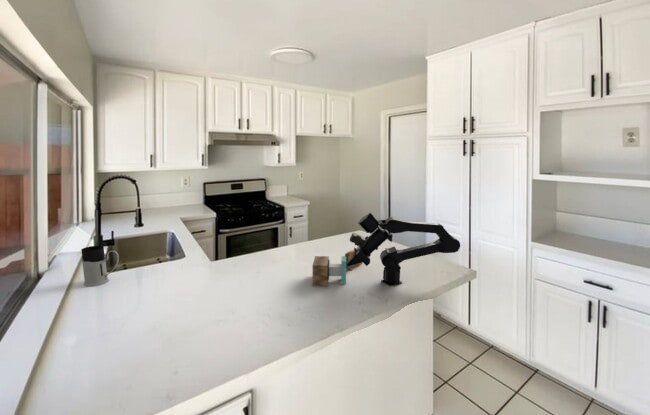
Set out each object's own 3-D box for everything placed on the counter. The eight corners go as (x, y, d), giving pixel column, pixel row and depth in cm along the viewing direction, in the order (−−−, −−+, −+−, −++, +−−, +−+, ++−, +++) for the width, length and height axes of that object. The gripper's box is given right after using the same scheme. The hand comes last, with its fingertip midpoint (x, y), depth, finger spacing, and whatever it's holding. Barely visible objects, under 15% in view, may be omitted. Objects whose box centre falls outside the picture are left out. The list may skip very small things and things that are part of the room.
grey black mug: (92, 278, 139) (88, 245, 137) (126, 278, 140) (123, 244, 138) (78, 287, 131) (74, 251, 128) (115, 286, 132) (111, 250, 129)
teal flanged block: (345, 277, 141) (346, 256, 139) (345, 283, 134) (346, 261, 132) (326, 276, 141) (326, 255, 140) (325, 283, 134) (325, 261, 133)
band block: (329, 275, 144) (329, 256, 142) (328, 286, 132) (328, 265, 130) (315, 275, 144) (315, 256, 143) (312, 286, 132) (312, 265, 131)
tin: (347, 272, 148) (348, 254, 147) (342, 270, 150) (342, 253, 149) (364, 263, 160) (364, 247, 159) (358, 262, 162) (359, 246, 161)
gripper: (360, 222, 142) (334, 245, 145) (362, 232, 124) (333, 258, 126) (377, 240, 143) (352, 263, 146) (382, 252, 125) (353, 278, 127)
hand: (347, 265), depth 136 cm, fingers closed
